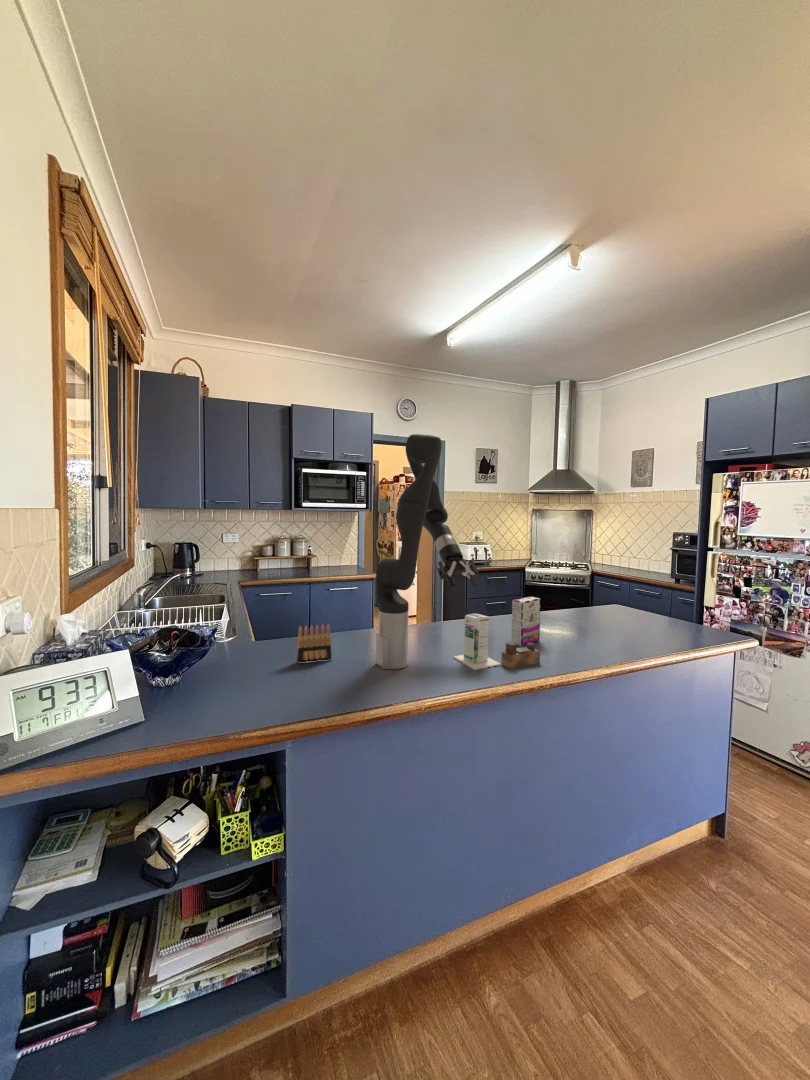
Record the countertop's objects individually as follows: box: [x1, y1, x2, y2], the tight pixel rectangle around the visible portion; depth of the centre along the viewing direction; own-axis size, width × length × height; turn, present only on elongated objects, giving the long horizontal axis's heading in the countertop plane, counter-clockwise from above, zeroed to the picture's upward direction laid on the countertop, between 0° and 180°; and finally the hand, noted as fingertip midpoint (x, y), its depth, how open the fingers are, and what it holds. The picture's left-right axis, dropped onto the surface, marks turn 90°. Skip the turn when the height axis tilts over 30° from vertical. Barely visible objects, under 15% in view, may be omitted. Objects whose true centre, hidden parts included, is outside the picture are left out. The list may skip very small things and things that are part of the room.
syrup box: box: [463, 613, 490, 663], centre depth 144 cm, size 6×6×14 cm
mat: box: [453, 654, 502, 671], centre depth 144 cm, size 10×12×1 cm
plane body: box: [500, 641, 541, 669], centre depth 143 cm, size 12×4×7 cm, turn 115°
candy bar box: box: [511, 596, 541, 647], centre depth 166 cm, size 11×5×16 cm, turn 129°
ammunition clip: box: [296, 623, 332, 662], centre depth 142 cm, size 11×2×12 cm, turn 111°
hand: (465, 586), depth 150 cm, fingers open, 8 cm apart
